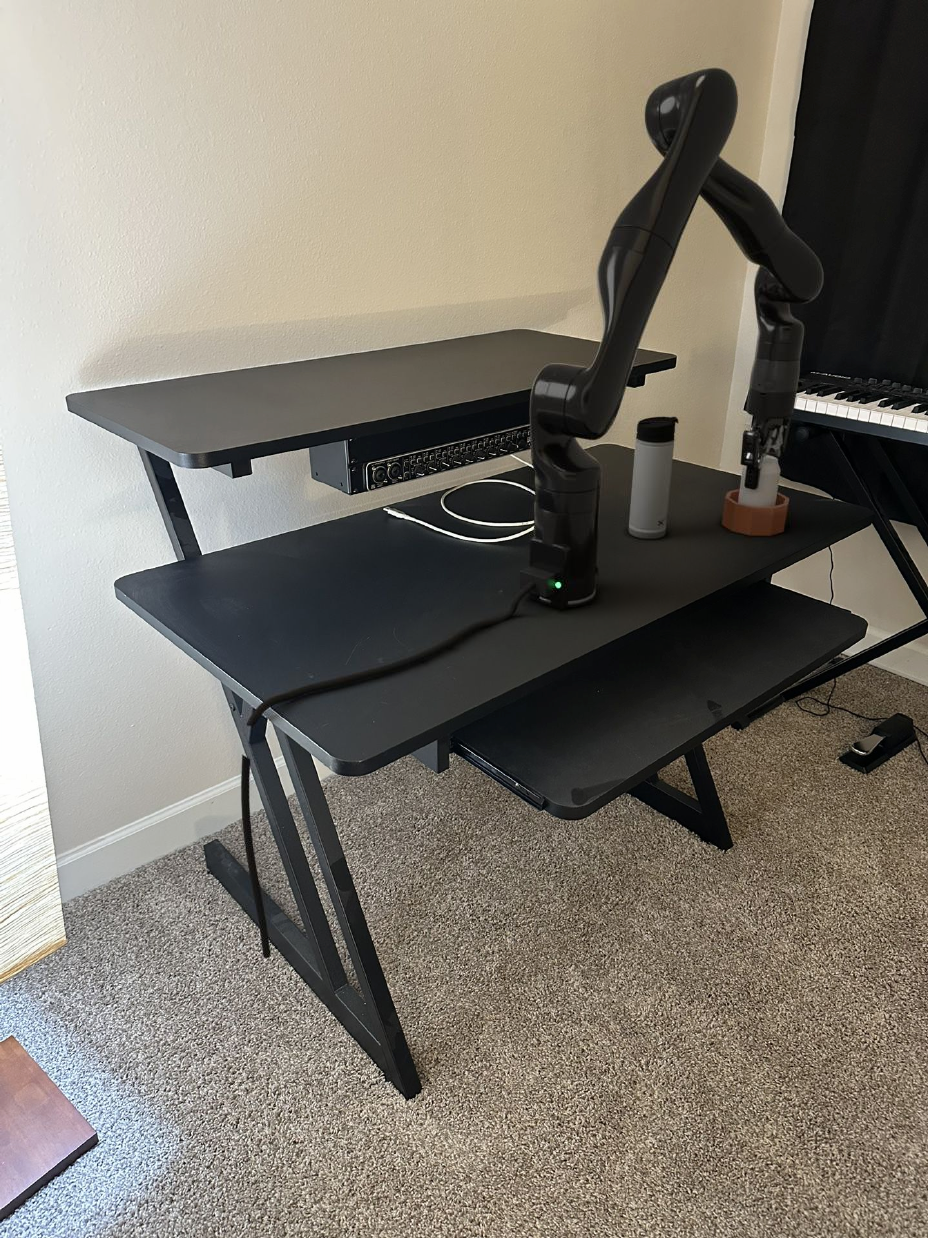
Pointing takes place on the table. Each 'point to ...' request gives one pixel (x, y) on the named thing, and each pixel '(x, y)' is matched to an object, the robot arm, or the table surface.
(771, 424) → the robot arm
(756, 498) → the beverage can
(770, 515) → the holder
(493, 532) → the table surface
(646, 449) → the travel mug
